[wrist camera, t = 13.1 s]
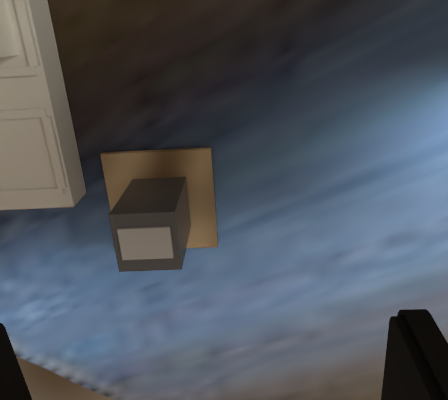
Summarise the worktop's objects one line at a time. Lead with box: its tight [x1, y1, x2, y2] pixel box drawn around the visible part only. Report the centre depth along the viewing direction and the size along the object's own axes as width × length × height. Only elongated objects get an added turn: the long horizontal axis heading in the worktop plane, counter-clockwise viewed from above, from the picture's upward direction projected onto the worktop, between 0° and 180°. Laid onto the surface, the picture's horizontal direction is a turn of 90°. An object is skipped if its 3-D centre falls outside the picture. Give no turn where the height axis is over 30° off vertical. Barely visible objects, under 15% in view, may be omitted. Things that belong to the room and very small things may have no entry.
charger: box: [109, 177, 191, 272], centre depth 31 cm, size 4×4×7 cm
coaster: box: [100, 147, 218, 248], centre depth 35 cm, size 9×9×1 cm
